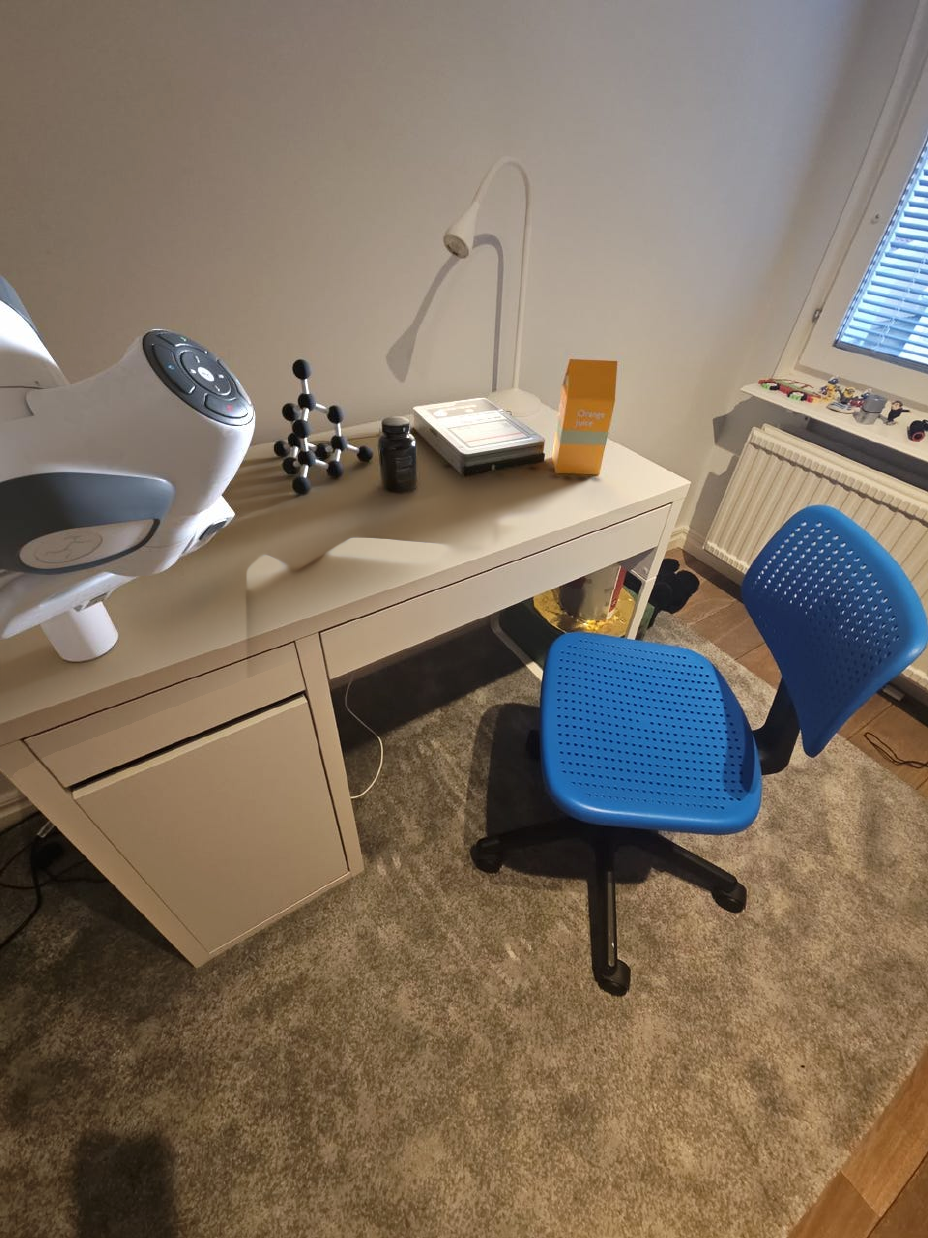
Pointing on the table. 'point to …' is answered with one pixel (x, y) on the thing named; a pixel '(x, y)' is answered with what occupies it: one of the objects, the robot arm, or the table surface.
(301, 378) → the molecular model
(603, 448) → the orange juice
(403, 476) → the supplement bottle
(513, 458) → the hard drive
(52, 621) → the can
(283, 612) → the table surface
